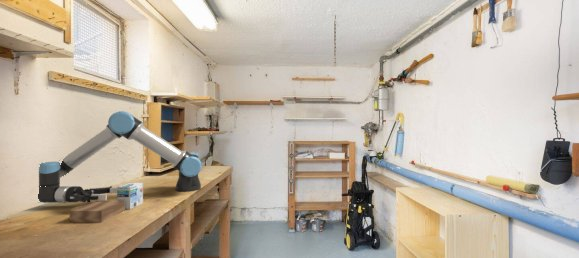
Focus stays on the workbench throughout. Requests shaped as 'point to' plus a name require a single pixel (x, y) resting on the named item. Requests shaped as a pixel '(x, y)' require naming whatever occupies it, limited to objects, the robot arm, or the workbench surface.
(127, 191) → the light bulb box
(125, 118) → the robot arm
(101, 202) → the walnut block
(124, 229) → the workbench surface
